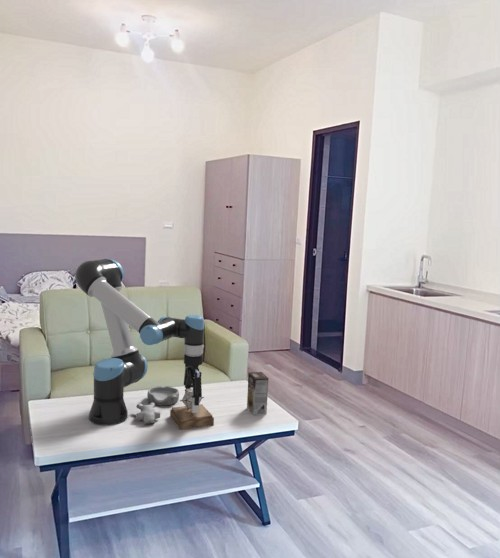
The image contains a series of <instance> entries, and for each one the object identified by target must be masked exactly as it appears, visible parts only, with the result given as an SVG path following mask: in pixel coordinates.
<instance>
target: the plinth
mask: <svg viewBox="0 0 500 558" xmlns="http://www.w3.org/2000/svg"><path fill="white" fill-rule="evenodd" d="M187 409H188V408H187V407H186V406H185V405H183V406H176V407H175V406H174V407H171V409H170V410H169V412H170V414H169V416H170V419H171V420H172V421H173V422H174V424H175V425H176V427H177V428H178V429H179V430H188V429H196V428H205V427H211V426H214V425H215V418H214V416H213V414H212V413H211V412H210V411H209V410H208V409H207V408H206V407H205V406H204V405H203V404H201V403H200V404H199V412H198V413H192V408H191V409H188V411H187Z"/></svg>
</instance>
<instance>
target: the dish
mask: <svg viewBox="0 0 500 558" xmlns="http://www.w3.org/2000/svg"><path fill="white" fill-rule="evenodd" d="M146 398H147V401H148V402H149V404H150V403H154V404H155V406H156V405H157V406H172V405H174V404H176V403H178V402H179V398H180V391H179V389H178V388H176V387H172V386H160V385H159V386H155V387H151V388H149V389H147V397H146Z"/></svg>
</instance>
